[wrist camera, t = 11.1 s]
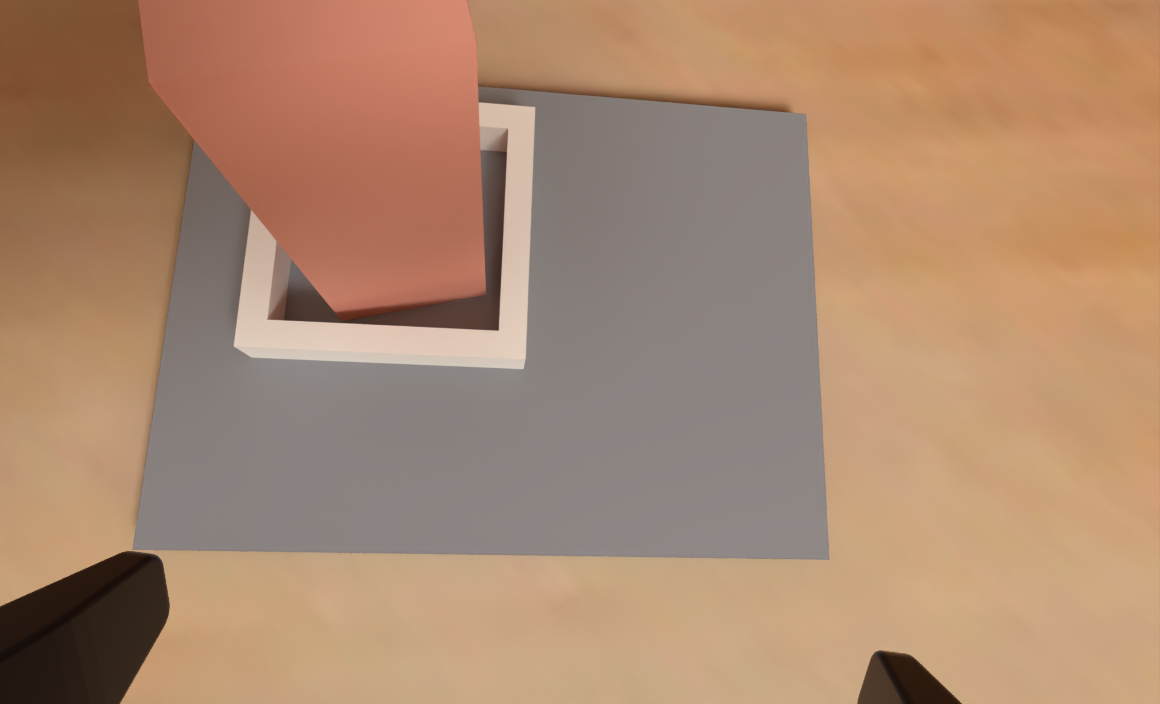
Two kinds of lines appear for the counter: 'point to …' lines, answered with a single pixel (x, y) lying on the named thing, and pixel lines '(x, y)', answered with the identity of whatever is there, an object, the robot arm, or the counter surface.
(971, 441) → the counter surface
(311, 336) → the grey base plate
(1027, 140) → the counter surface
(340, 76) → the red post
